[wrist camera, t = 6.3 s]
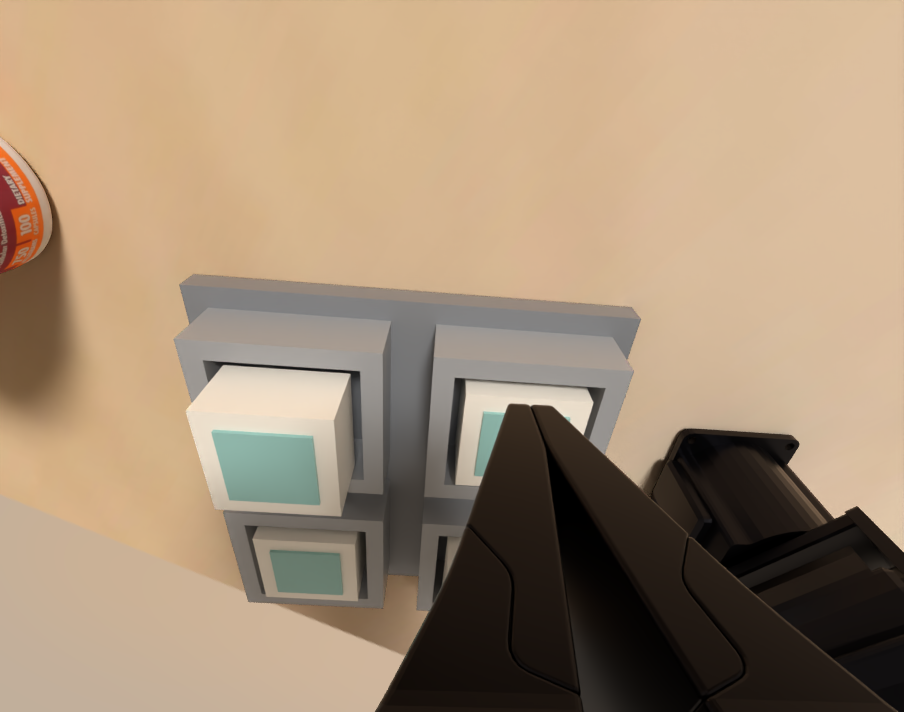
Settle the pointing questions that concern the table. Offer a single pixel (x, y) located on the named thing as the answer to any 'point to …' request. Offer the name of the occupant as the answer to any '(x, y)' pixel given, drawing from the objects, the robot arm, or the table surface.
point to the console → (399, 397)
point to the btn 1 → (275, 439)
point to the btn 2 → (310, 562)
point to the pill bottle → (21, 211)
